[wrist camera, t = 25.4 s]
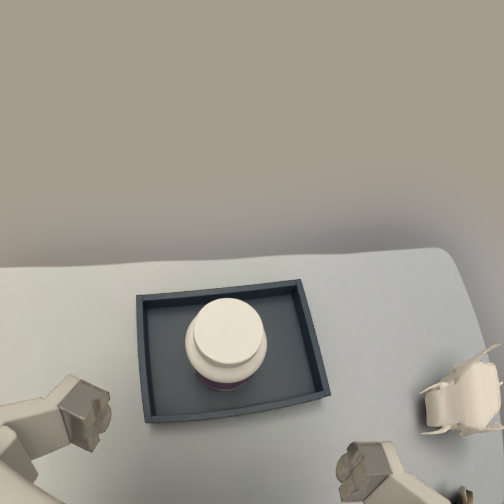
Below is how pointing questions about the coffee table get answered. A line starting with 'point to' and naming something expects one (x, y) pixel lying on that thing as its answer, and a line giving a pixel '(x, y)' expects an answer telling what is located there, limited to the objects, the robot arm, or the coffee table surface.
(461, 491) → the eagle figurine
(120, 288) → the coffee table surface
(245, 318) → the pill bottle
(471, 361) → the elephant figurine
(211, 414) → the tray
